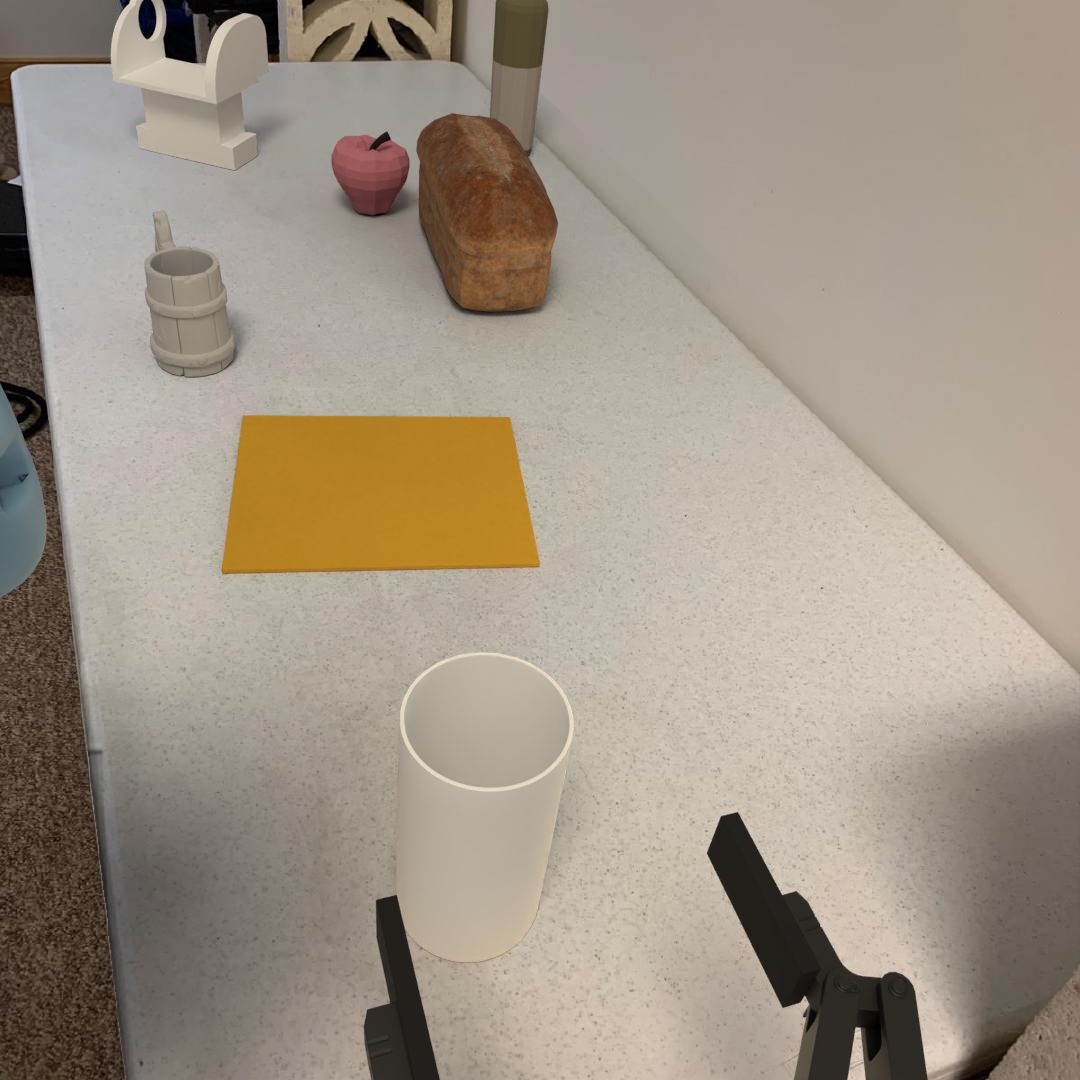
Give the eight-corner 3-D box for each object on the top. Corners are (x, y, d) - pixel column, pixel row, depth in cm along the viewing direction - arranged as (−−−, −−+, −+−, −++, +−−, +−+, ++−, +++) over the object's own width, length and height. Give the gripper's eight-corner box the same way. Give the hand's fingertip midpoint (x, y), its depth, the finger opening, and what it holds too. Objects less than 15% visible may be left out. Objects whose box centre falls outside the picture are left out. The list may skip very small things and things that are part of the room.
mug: (166, 386, 91) (146, 264, 83) (131, 325, 98) (109, 208, 90) (248, 369, 94) (236, 251, 87) (208, 311, 102) (194, 197, 94)
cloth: (222, 573, 74) (221, 569, 74) (243, 418, 89) (242, 415, 88) (539, 566, 78) (540, 563, 78) (509, 420, 93) (509, 416, 92)
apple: (386, 191, 128) (387, 112, 122) (423, 218, 124) (425, 136, 117) (320, 204, 124) (316, 122, 117) (355, 232, 119) (353, 148, 112)
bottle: (478, 144, 144) (493, -97, 124) (521, 142, 147) (543, -95, 127) (496, 163, 140) (515, -84, 120) (541, 160, 142) (567, -83, 123)
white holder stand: (126, 154, 129) (100, 1, 117) (181, 125, 138) (162, -20, 126) (224, 177, 126) (208, 24, 115) (274, 145, 136) (263, 0, 124)
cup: (381, 847, 58) (381, 668, 48) (513, 815, 61) (541, 638, 50) (414, 981, 53) (423, 810, 42) (559, 939, 55) (600, 769, 45)
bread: (500, 211, 128) (510, 95, 118) (558, 320, 108) (575, 191, 98) (407, 211, 125) (409, 92, 115) (449, 324, 105) (455, 191, 95)
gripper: (326, 1942, 22) (234, 1005, 37) (1179, 1475, 29) (817, 851, 44) (307, 2020, 17) (210, 901, 32) (1339, 1435, 24) (870, 748, 39)
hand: (562, 871), depth 38 cm, fingers open, 13 cm apart
